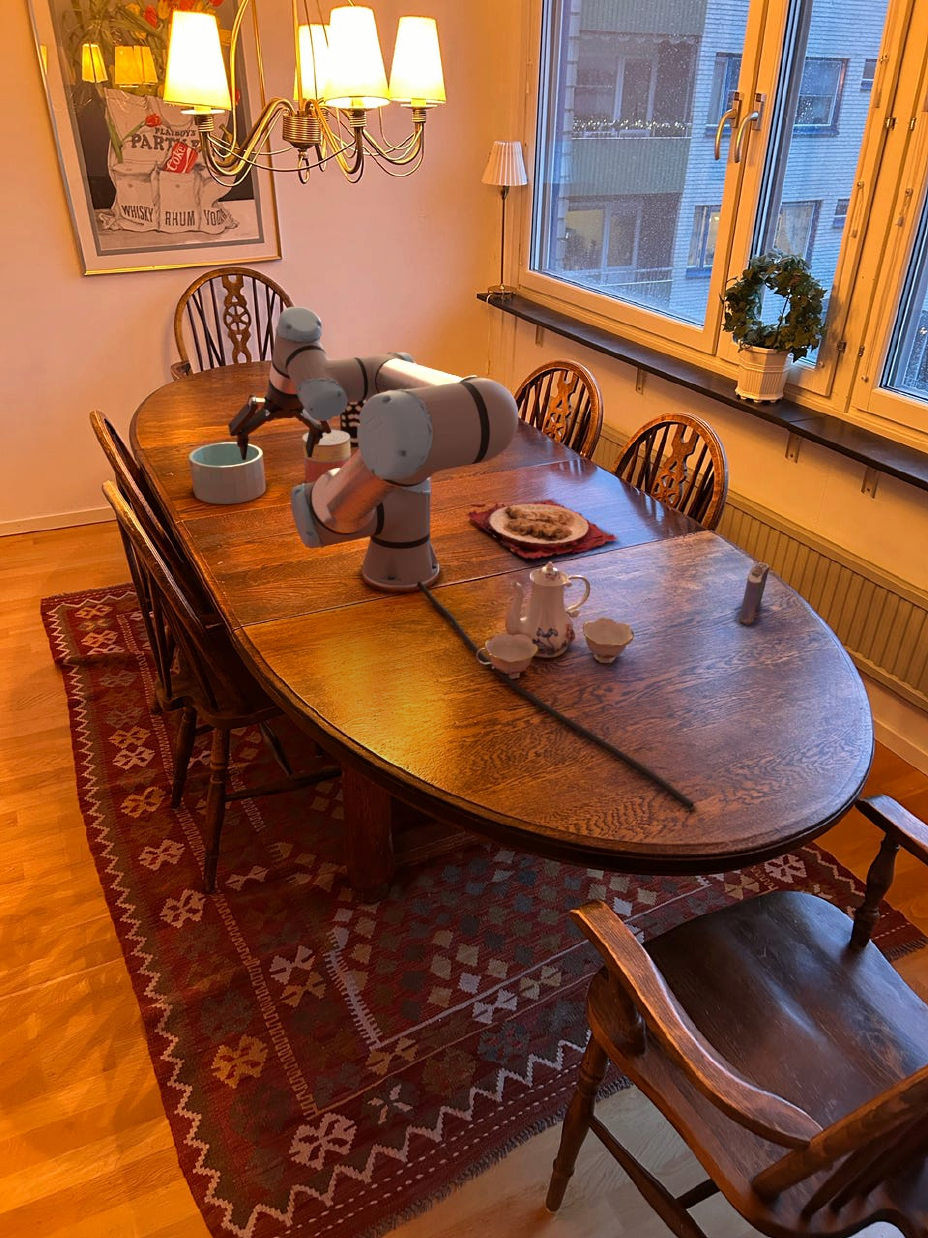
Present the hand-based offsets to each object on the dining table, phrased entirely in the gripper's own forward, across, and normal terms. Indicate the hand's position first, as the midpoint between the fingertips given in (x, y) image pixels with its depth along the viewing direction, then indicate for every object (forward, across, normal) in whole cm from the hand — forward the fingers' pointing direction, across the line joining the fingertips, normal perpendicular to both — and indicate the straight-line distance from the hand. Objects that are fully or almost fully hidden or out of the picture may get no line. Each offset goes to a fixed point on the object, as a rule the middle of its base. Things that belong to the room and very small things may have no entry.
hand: (276, 453), depth 180 cm
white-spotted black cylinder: (+40, -33, -35) cm, 62 cm away
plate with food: (+1, -54, +23) cm, 59 cm away
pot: (+29, +5, -13) cm, 33 cm away
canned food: (+26, -18, -10) cm, 33 cm away
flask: (-25, -74, +62) cm, 100 cm away
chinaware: (-21, -33, +62) cm, 74 cm away
